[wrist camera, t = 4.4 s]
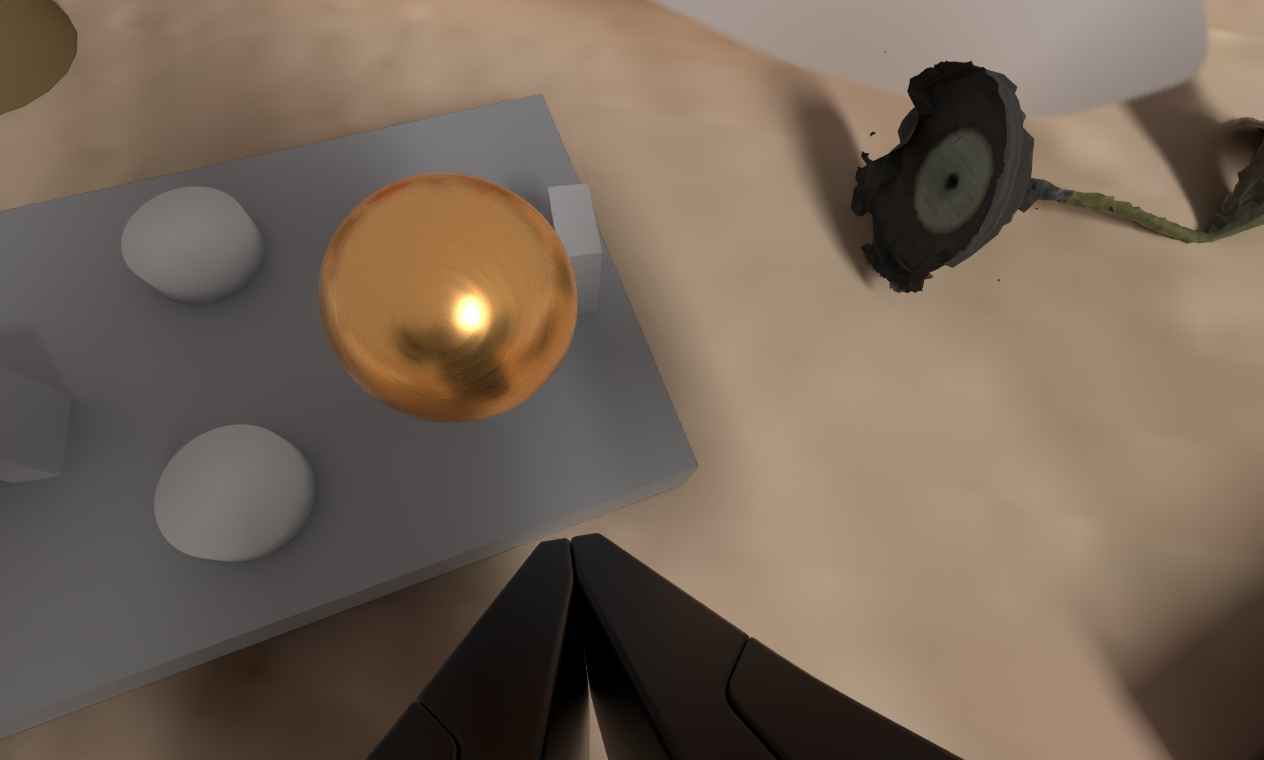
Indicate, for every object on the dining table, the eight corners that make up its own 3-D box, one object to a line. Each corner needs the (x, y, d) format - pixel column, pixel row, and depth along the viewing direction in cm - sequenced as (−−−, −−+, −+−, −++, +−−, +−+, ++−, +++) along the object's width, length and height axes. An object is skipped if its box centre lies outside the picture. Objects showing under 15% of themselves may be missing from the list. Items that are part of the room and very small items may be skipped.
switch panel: (682, 484, 18) (725, 434, 13) (-164, 800, 14) (-602, 913, 9) (545, 148, 22) (536, 8, 17) (-148, 312, 18) (-442, 190, 13)
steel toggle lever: (551, 308, 17) (607, 435, 7) (443, 323, 17) (318, 482, 6) (535, 199, 16) (570, 145, 6) (421, 210, 16) (237, 173, 5)
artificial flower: (808, 161, 25) (954, -152, 17) (1228, 203, 30) (1491, -26, 22) (888, 325, 20) (1151, -18, 12) (1382, 343, 24) (1799, 108, 17)
